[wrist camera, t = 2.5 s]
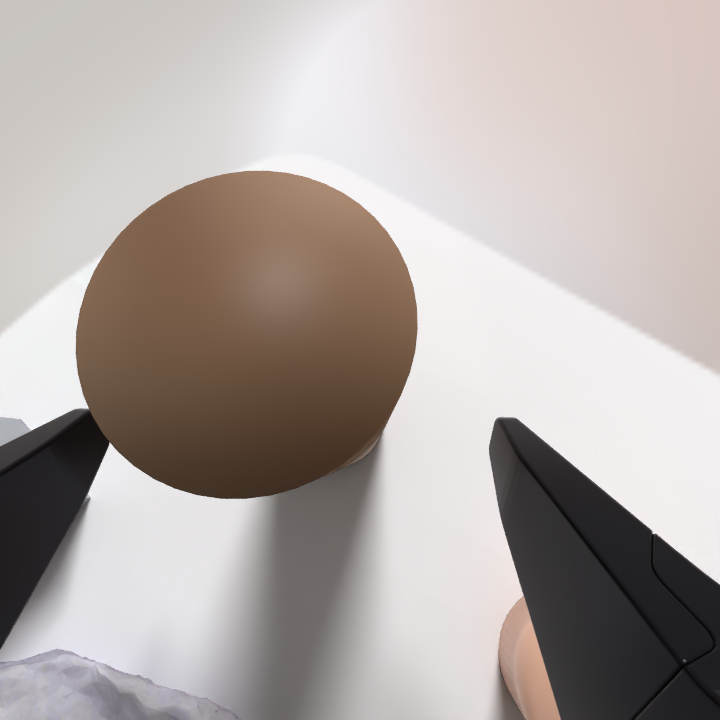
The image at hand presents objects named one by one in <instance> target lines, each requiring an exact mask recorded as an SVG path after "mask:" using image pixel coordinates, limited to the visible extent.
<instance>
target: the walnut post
mask: <svg viewBox="0 0 720 720" xmlns="http://www.w3.org/2000/svg"><path fill="white" fill-rule="evenodd" d="M416 338H417V306H416V300H415V294H414V288H413V284H412V281H411V278H410V275H409V272H408V269H407V266H406V264H405V262H404V260H403V258H402V256H401V253H400V251H399V249H398V248H397V246H396V245H395V243H394V242H393V240H392V239H391V237H390V235H389V234H388V232H387V231H386V230H385V229H384V228H383V227H382V225H381V224H380V223H379V222H378V221H377V220H376V219H375V217H374V216H372V215H371V214H370V213H369V212H368V211H367V210H366V209H364V208H363V207H362V206H361V205H360V204H359V203H357V202H356V201H354V200H353V199H351V198H350V197H348V196H347V195H345V194H344V193H342V192H340V191H338V190H336V189H334V188H332V187H330V186H328V185H326V184H324V183H321V182H318V181H315V180H312V179H310V178H307V177H303V176H298V175H294V174H289V173H282V172H272V171H244V172H236V173H228V174H223V175H219V176H215V177H211V178H207V179H204V180H201V181H198V182H196V183H193V184H190V185H187V186H185V187H183V188H181V189H179V190H177V191H175V192H173V193H171V194H169V195H167V196H166V197H164V198H163V199H161V200H160V201H158V202H156V203H155V204H153V205H152V206H150V207H149V208H148V209H146V210H145V211H144V212H143V213H141V214H140V215H139V216H138V217H137V218H135V219H134V220H133V221H132V222H131V223H130V224H129V225H128V226H127V227H126V228H125V229H124V230H123V231H122V232H121V233H120V235H119V236H118V237H117V238H116V239H115V241H114V242H113V243H112V244H111V246H110V247H109V248H108V250H107V251H106V252H105V254H104V256H103V257H102V259H101V261H100V262H99V264H98V266H97V267H96V269H95V271H94V273H93V275H92V278H91V280H90V282H89V284H88V286H87V289H86V292H85V295H84V298H83V302H82V305H81V308H80V313H79V319H78V325H77V331H76V359H77V369H78V375H79V379H80V383H81V387H82V391H83V395H84V397H85V400H86V402H87V405H88V407H89V409H90V412H91V414H92V416H93V418H94V419H95V421H96V423H97V424H98V426H99V428H100V429H101V431H102V433H103V434H104V435H105V437H106V438H107V439H108V440H109V441H110V443H111V444H112V445H113V446H114V448H115V449H116V450H117V451H118V452H119V453H120V454H121V455H122V456H124V457H125V458H126V459H127V460H128V461H129V462H130V463H131V464H133V465H134V466H135V467H137V468H138V469H140V470H141V471H143V472H144V473H146V474H147V475H149V476H150V477H152V478H153V479H155V480H158V481H160V482H162V483H164V484H166V485H168V486H171V487H173V488H175V489H179V490H182V491H185V492H189V493H192V494H195V495H200V496H207V497H214V498H221V499H247V498H255V497H262V496H270V495H274V494H277V493H281V492H285V491H288V490H292V489H295V488H298V487H300V486H302V485H305V484H307V483H309V482H312V481H314V480H316V479H319V478H321V477H323V476H326V475H328V474H330V473H333V472H335V471H337V470H339V469H342V468H344V467H346V466H349V465H351V464H353V463H356V462H357V461H359V460H361V459H362V458H363V457H365V456H366V455H367V454H368V453H369V452H370V451H371V450H372V449H373V448H374V446H375V445H376V443H377V442H378V440H379V438H380V436H381V434H382V432H383V430H384V428H385V426H386V424H387V422H388V420H389V418H390V416H391V414H392V412H393V410H394V408H395V406H396V404H397V402H398V400H399V398H400V396H401V394H402V391H403V388H404V386H405V383H406V381H407V378H408V376H409V373H410V370H411V366H412V362H413V358H414V354H415V348H416Z"/></svg>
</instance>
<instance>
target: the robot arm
mask: <svg viewBox="0 0 720 720" xmlns="http://www.w3.org/2000/svg"><path fill="white" fill-rule="evenodd" d="M109 442H110V441H109V440H108V439H107V438H106V437H105V435H104V434H103V433H102V431H101V429H100V428H99V426H98V424H97V423H96V421H95V419H94V418H93V416H92V414H91V412H90V409H75V410H72V411H70V412H68V413H66V414H64V415H62V416H60V417H58V418H56V419H54V420H52V421H50V422H48V423H46V424H44V425H42V426H40V427H38V428H36V429H34V430H32V431H30V432H28V433H26V434H24V435H22V436H20V437H18V438H16V439H14V440H12V441H10V442H8V443H6V444H4V445H2V446H0V649H1V648H2V646H3V644H4V642H5V641H6V639H7V637H8V635H9V634H10V632H11V630H12V628H13V627H14V625H15V623H16V621H17V620H18V618H19V616H20V614H21V613H22V611H23V609H24V607H25V606H26V604H27V602H28V600H29V599H30V597H31V595H32V593H33V592H34V590H35V588H36V586H37V584H38V583H39V581H40V579H41V577H42V576H43V574H44V572H45V570H46V569H47V567H48V565H49V563H50V562H51V560H52V558H53V556H54V555H55V553H56V551H57V549H58V548H59V546H60V544H61V542H62V541H63V539H64V537H65V535H66V534H67V532H68V530H69V528H70V527H71V525H72V523H73V521H74V520H75V518H76V516H77V514H78V512H79V510H80V509H81V507H82V505H83V503H84V500H85V498H86V496H87V494H88V492H89V490H90V487H91V485H92V483H93V481H94V478H95V476H96V474H97V472H98V469H99V467H100V465H101V462H102V460H103V458H104V456H105V453H106V451H107V449H108V446H109ZM489 455H490V461H491V466H492V472H493V478H494V484H495V489H496V495H497V501H498V506H499V512H500V517H501V521H502V524H503V528H504V531H505V535H506V538H507V541H508V545H509V548H510V551H511V555H512V558H513V561H514V565H515V568H516V571H517V575H518V578H519V582H520V585H521V588H522V592H523V595H524V598H525V602H526V605H527V608H528V612H529V615H530V618H531V622H532V625H533V628H534V632H535V635H536V638H537V642H538V645H539V648H540V652H541V655H542V658H543V662H544V665H545V668H546V672H547V675H548V678H549V682H550V685H551V688H552V692H553V695H554V698H555V702H556V705H557V708H558V712H559V715H560V718H561V720H720V584H718V583H717V582H716V581H714V580H713V579H712V578H710V577H709V576H708V575H706V574H705V573H704V572H703V571H701V570H700V569H699V568H698V567H696V566H695V565H694V564H693V563H691V562H690V561H689V560H688V559H686V558H685V557H684V556H683V555H681V554H680V553H679V552H678V551H676V550H675V549H674V548H673V547H671V546H670V545H669V544H668V543H667V542H665V541H664V540H663V539H662V538H661V537H659V536H658V535H657V534H653V532H652V530H651V529H650V528H648V527H647V526H646V525H645V524H643V523H642V522H641V521H640V520H639V519H637V518H636V517H635V516H634V515H633V514H631V513H630V512H629V511H628V510H627V509H625V508H624V507H623V506H622V505H621V504H619V503H618V502H617V501H616V500H615V499H613V498H612V497H611V496H610V495H608V494H607V493H606V492H605V491H604V490H602V489H601V488H600V487H599V486H598V485H596V484H595V483H594V482H593V481H592V480H590V479H589V478H588V477H587V476H586V475H584V474H583V473H582V472H581V471H580V470H578V469H577V468H576V467H575V466H573V465H572V464H571V463H570V462H569V461H567V460H566V459H565V458H564V457H563V456H561V455H560V454H559V453H558V452H557V451H555V450H554V449H553V448H552V447H551V446H549V445H548V444H547V443H546V442H545V441H543V440H542V439H541V438H540V437H538V436H537V435H536V434H535V433H534V432H532V431H531V430H530V429H529V428H528V427H526V426H525V425H524V424H523V423H522V422H520V421H519V420H518V419H516V418H511V417H499V418H497V419H496V420H495V423H494V427H493V431H492V436H491V440H490V445H489Z"/></svg>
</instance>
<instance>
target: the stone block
mask: <svg viewBox="0 0 720 720" xmlns="http://www.w3.org/2000/svg"><path fill="white" fill-rule="evenodd" d="M0 720H240V719H239V718H238V717H237V716H236V715H235V714H233V713H232V712H230V711H229V710H227V709H224V708H221V707H220V706H218V705H217V704H215V703H213V702H211V701H210V700H209V699H207V698H197V697H194V696H191V695H189V694H186V693H184V692H182V691H179V690H173V689H168V688H165V687H161V686H158V685H156V684H154V683H153V682H152V681H151V680H150V679H148V678H146V679H144V678H143V677H141V676H140V675H138V676H135V675H131V674H128V673H123V672H121V671H119V670H116V669H114V668H112V667H110V666H108V665H106V664H102V663H98V662H96V661H94V660H90V659H88V658H86V657H80V656H78V655H77V654H75V653H73V652H71V651H65V650H59V649H55V650H52V651H49V652H46V653H42V654H39V655H36V656H33V657H30V658H27V659H24V660H20V661H9V662H0Z"/></svg>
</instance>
